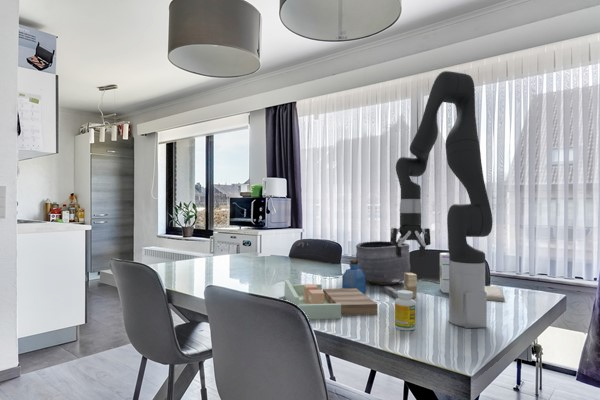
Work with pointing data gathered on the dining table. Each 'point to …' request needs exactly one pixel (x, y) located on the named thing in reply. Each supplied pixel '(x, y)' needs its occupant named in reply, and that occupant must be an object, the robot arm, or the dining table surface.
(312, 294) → the peach block
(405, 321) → the supplement bottle
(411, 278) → the scraper
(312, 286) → the tile
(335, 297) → the block
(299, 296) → the tray
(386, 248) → the tea bowl
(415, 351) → the dining table surface
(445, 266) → the syrup box
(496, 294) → the washcloth
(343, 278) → the perfume bottle
